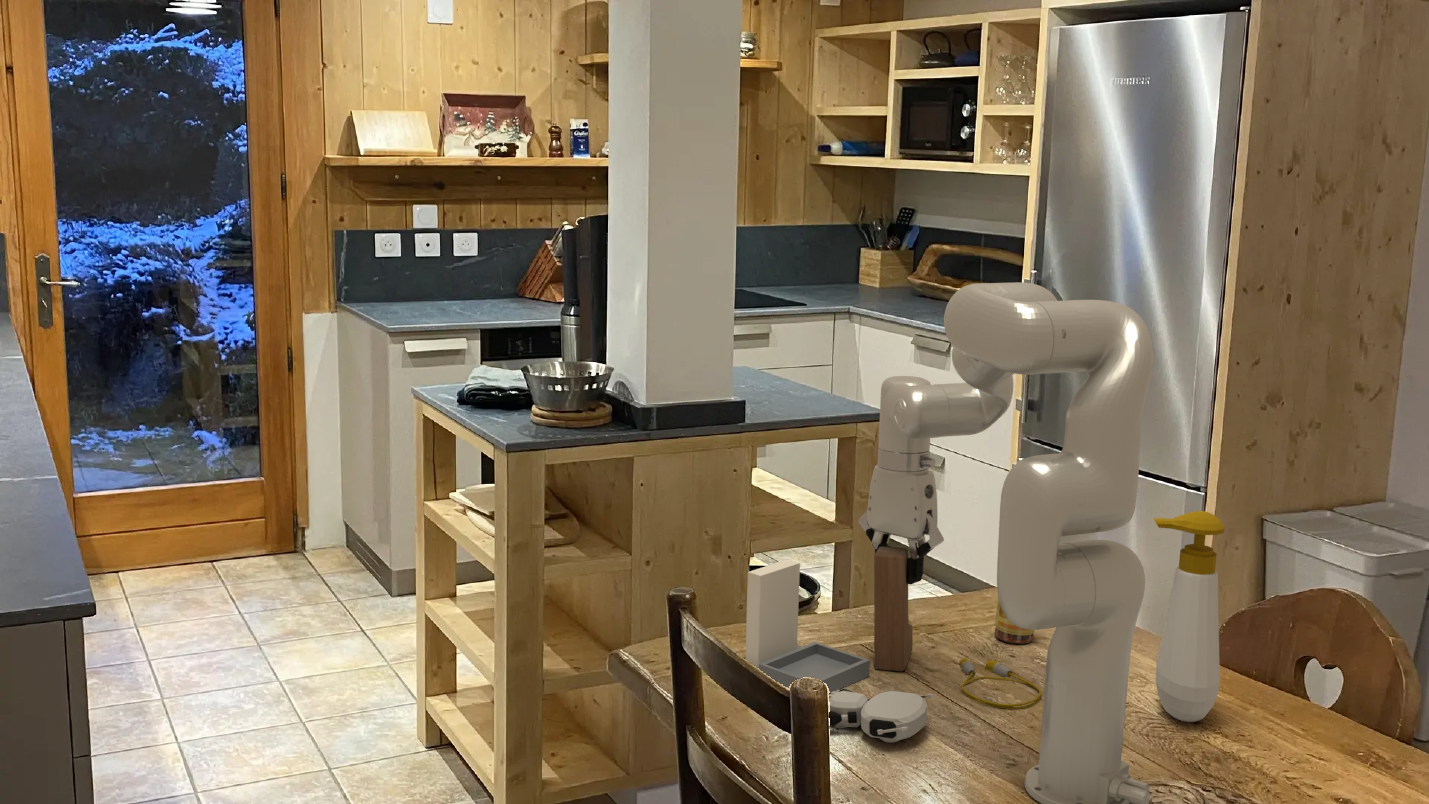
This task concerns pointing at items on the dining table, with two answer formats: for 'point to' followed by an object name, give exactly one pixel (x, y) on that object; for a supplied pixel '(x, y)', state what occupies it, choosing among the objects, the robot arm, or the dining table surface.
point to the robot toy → (879, 713)
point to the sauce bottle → (1010, 629)
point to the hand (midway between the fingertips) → (897, 576)
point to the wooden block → (891, 610)
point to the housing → (790, 633)
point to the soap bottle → (1191, 624)
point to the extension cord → (997, 669)
